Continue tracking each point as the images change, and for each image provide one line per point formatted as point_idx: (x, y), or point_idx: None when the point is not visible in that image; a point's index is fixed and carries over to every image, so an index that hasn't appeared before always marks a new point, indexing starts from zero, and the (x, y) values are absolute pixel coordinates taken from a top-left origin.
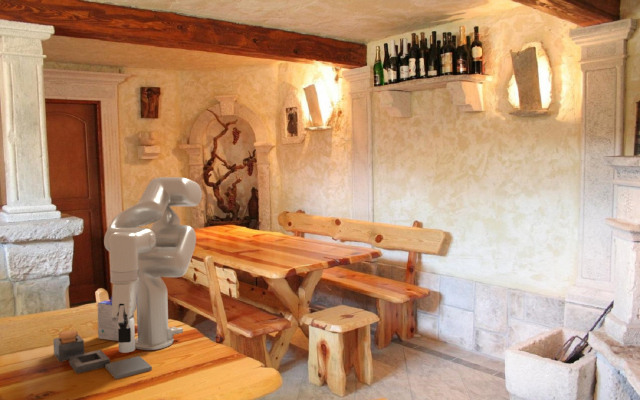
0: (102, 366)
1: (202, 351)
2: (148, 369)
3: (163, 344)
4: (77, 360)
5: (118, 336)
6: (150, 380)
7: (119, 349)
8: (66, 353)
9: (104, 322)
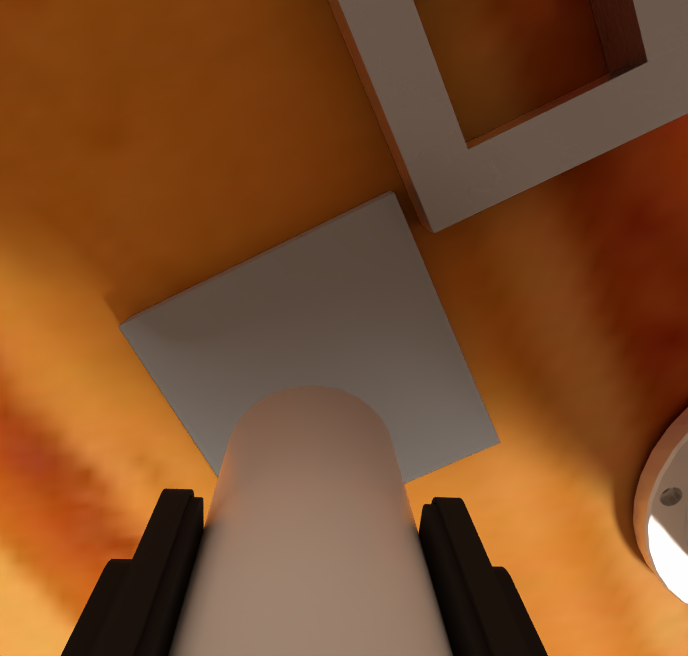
0: (399, 166)
1: None
2: None
3: (666, 575)
4: None
5: (140, 548)
6: (91, 536)
7: (260, 412)
8: None
9: None
